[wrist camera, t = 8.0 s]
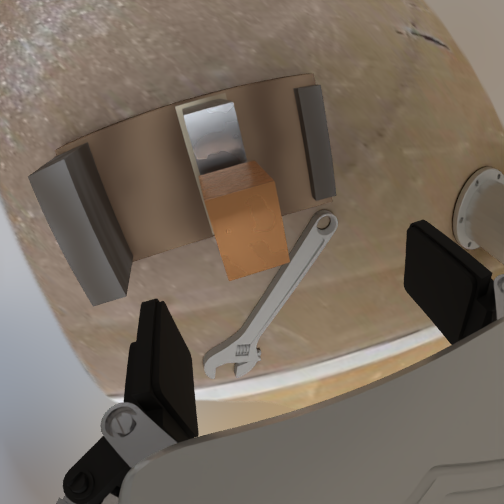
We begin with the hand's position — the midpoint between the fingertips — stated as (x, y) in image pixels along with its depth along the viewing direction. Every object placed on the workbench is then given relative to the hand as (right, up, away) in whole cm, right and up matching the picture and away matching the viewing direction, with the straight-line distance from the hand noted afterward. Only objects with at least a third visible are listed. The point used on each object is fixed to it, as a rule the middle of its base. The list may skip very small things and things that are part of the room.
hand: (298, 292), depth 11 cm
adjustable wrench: (0, -5, +26) cm, 27 cm away
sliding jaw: (-4, +8, +14) cm, 17 cm away
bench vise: (-6, +9, +16) cm, 19 cm away
